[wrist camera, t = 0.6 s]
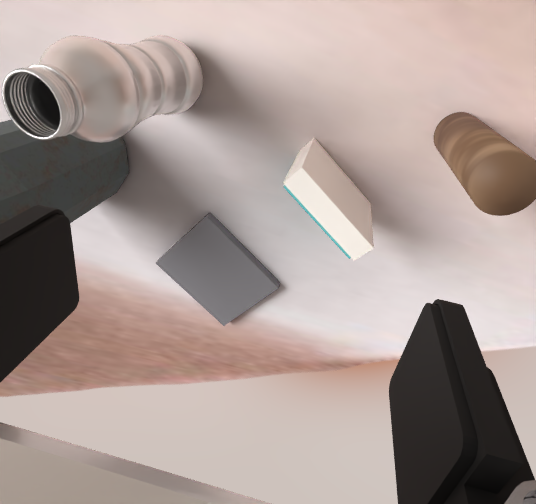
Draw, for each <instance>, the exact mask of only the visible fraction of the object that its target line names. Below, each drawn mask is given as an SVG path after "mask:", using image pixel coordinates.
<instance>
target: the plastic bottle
mask: <svg viewBox="0 0 536 504" xmlns="http://www.w3.org/2000/svg"><path fill="white" fill-rule="evenodd" d="M202 86H203V74H202V69H201V66H200V63H199V61H198V59H197V57H196V55H195V54H194V53H193V51H192V50H191V49H190V48H189V47H188V46H187V45H185V44H184V43H182V42H180V41H179V40H177V39H174V38H172V37H169V36H163V35H158V36H153V37H150V38H147V39H145V40H142V41H140V42H139V43H135V44H130V45H126V44H115V43H111V42H107V41H103V40H99V39H95V38H92V37H84V36H69V37H65V38H63V39H61V40H59V41H57V42H55V43H54V44H52V45H51V46H50V47H49V48H47V49H46V50H45V52H44V53H43V55H42V57H41V59H40V62H39V64H36V65H31V66H29V67H27V68H21V69H16V70H14V71H12V72H10V73H9V74H8V75H7V76H6V77H5V79H4V81H3V85H2V99H3V103H4V106H5V109H6V111H7V113H8V115H9V116H10V118H11V120H12V121H13V122H14V123H15V125H16V126H17V127H18V128H19V129H20V130H21V131H23V132H24V133H25V134H27V135H29V136H30V137H32V138H35V139H39V140H49V139H53V138H56V137H61V136H66V135H69V134H71V135H73V136H75V137H76V138H79V139H82V140H85V141H91V142H101V143H102V142H110V141H113V140H116V139H118V138H119V137H121V136H123V135H124V134H126V133H127V132H129V131H130V130H131V129H132V128H134V127H135V126H136V125H137V124H139V123H140V122H142V121H143V120H145V119H147V118H149V117H151V116H155V115H160V114H164V115H171V114H179V113H182V112H185V111H186V110H188V109H189V108H190V107H191V106H192V105H193V104H194V103H195V102H196V101H197V99H198V98H199V96H200V94H201V91H202Z"/></svg>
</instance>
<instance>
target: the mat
mask: <svg viewBox="0 0 536 504" xmlns="http://www.w3.org/2000/svg"><path fill="white" fill-rule="evenodd" d="M156 264H157V265H158V266H159V267H160V268H161V269H162V270H164V271H165V272H166V273H167V274H168V275H169V276H170V277H171V278H172V279H173V280H174V281H176V282H177V283H178V284H179V285H180V286H181V287H182V288H183V289H184V290H185V291H186V292H187V293H189V294H190V295H191V296H192V297H193V298H194V299H195V300H196V301H197V302H198V303H199V304H201V305H202V306H203V307H204V308H205V309H206V310H207V311H208V312H209V313H210V314H211V315H213V316H214V317H215V318H216V319H217V320H218V321H219V322H220V323H221V324H222V325H223V326H225V325H226V324H227V323H229V322H230V321H232V320H233V319H235V318H236V317H238V316H239V315H240V314H242V313H243V312H245V311H246V310H248V309H249V308H251V307H252V306H254V305H255V304H256V303H258V302H259V301H261V300H262V299H264V298H265V297H267V296H268V295H270V294H271V293H272V292H274V291H275V290H277V289H278V288H279V285H280V282H279V281H278V280H277V279H276V278H275V277H274V276H273V275H272V274H271V273H270V272H269V271H268V270H267V269H266V268H265V267H264V266H263V265H262V264H261V263H260V262H259V261H258V260H257V259H256V258H255V257H254V256H253V255H252V254H251V253H250V252H249V251H248V250H247V249H246V248H245V247H244V246H243V245H242V244H241V243H240V242H239V241H238V240H237V239H236V238H235V237H234V236H233V235H232V234H231V233H230V232H229V231H228V230H227V229H226V228H225V227H224V226H223V225H222V224H221V223H220V222H219V221H218V220H217V219H216V218H215V217H214V216H213V215H212V214H211V213H209V214H208V215H207V216H205V217H204V218H203V219H202V220H201V221H200V222H199V223H198V224H197V225H196V226H195V227H193V228H192V229H191V230H190V231H189V232H188V233H187V234H186V235H185V236H184V237H183V238H181V239H180V240H179V241H178V242H177V243H176V244H175V245H174V246H173V247H172V248H171V249H169V250H168V251H167V252H166V253H165V254H164V255H163V256H162V257H161V258H160V259H159V260H158V261H157V262H156Z"/></svg>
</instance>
